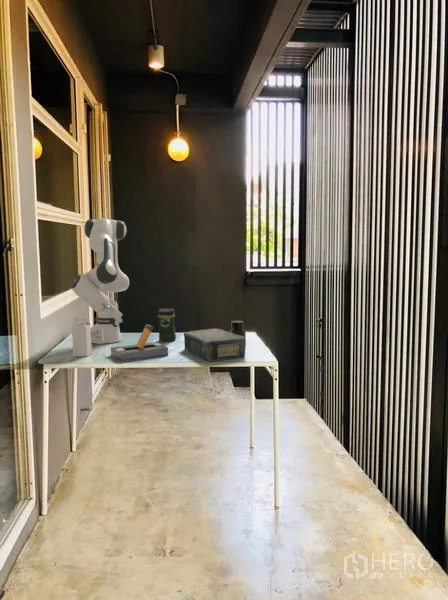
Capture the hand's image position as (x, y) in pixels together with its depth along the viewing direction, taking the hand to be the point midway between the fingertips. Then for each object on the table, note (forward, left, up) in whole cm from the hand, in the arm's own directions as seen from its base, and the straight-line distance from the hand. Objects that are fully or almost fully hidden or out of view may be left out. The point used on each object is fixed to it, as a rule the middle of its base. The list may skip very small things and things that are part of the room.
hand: (121, 321), depth 231 cm
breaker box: (+5, +7, -18) cm, 20 cm away
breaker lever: (+5, +7, -14) cm, 17 cm away
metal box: (+38, +24, -19) cm, 49 cm away
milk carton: (-23, -2, -18) cm, 29 cm away
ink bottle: (+40, +52, -18) cm, 68 cm away
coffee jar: (-1, +45, -18) cm, 49 cm away
